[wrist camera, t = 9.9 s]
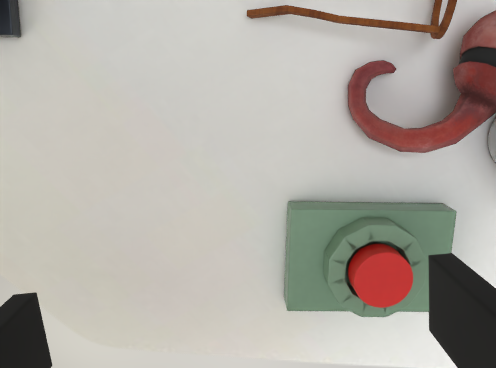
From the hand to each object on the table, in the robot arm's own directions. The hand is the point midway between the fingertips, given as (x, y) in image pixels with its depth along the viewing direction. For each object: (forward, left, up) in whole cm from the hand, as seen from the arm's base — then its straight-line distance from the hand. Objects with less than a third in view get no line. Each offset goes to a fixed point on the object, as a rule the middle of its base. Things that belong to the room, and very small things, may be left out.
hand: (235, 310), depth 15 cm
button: (+10, -5, -16) cm, 19 cm away
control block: (+10, -5, -19) cm, 22 cm away
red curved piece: (+17, +14, -17) cm, 28 cm away
